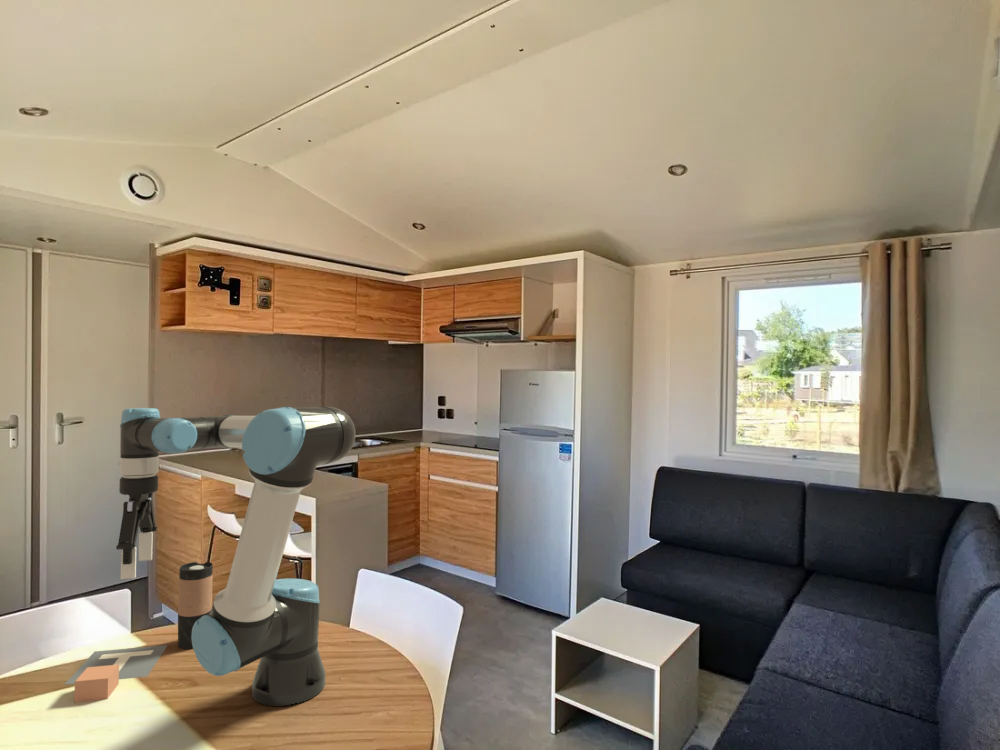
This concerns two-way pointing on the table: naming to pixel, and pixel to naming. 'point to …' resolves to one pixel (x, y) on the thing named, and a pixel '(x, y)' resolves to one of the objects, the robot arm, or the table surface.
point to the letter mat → (124, 661)
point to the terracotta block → (96, 683)
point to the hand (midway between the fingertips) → (137, 568)
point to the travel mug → (193, 599)
